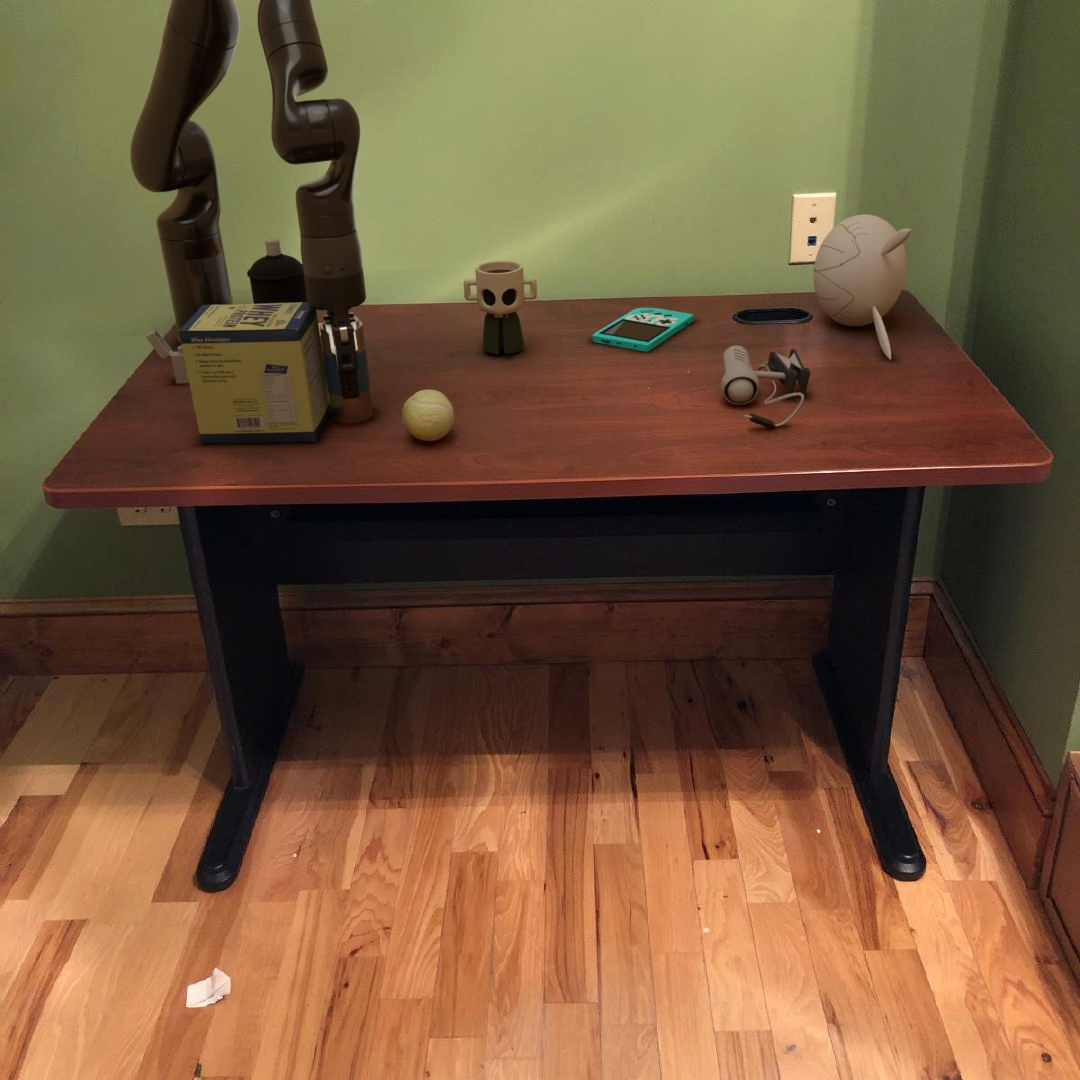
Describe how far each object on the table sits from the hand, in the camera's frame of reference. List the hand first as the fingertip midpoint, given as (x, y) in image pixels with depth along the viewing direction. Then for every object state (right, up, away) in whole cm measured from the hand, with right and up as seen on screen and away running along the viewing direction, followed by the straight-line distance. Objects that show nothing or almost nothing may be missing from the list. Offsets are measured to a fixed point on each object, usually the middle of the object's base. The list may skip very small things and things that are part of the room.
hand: (347, 386), depth 153 cm
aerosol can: (-11, +4, +16) cm, 20 cm away
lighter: (-27, +3, +16) cm, 31 cm away
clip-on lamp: (+56, -3, +1) cm, 56 cm away
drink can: (0, -4, +2) cm, 4 cm away
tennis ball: (+12, -8, -5) cm, 15 cm away
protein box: (-11, -6, 0) cm, 12 cm away
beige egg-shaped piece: (+76, +12, +24) cm, 80 cm away
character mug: (+20, +8, +22) cm, 31 cm away
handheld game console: (+42, +12, +28) cm, 52 cm away
